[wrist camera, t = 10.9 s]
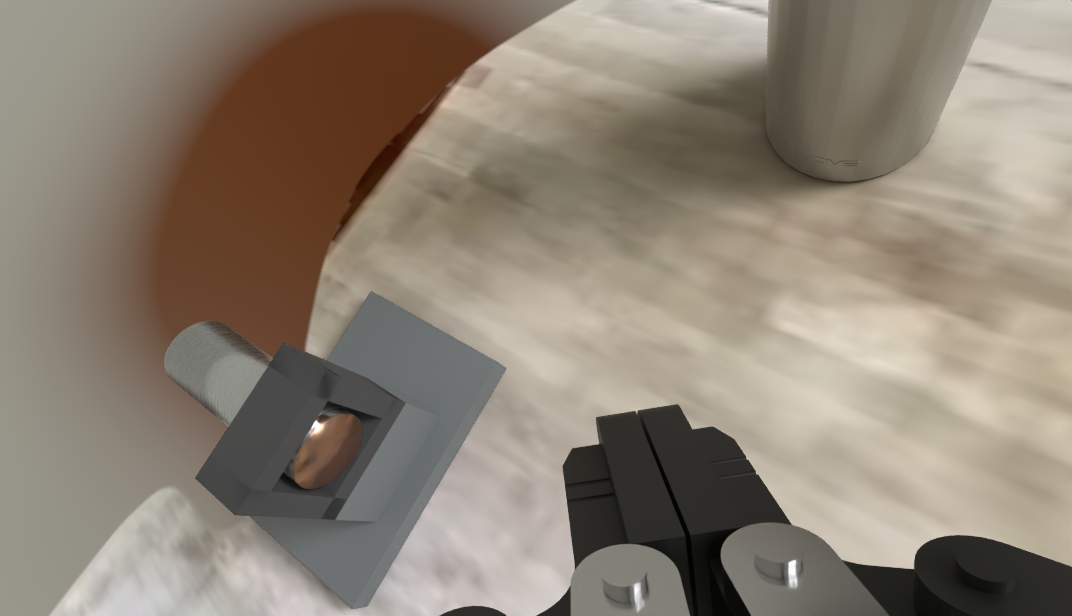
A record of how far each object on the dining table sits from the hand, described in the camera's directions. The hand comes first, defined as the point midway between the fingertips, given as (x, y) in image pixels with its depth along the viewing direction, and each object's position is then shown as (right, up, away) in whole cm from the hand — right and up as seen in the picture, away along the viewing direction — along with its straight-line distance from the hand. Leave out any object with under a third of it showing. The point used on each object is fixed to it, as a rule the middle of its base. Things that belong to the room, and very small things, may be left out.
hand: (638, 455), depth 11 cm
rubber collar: (-12, -5, +22) cm, 26 cm away
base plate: (-12, -6, +28) cm, 31 cm away
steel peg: (-16, -3, +23) cm, 28 cm away
